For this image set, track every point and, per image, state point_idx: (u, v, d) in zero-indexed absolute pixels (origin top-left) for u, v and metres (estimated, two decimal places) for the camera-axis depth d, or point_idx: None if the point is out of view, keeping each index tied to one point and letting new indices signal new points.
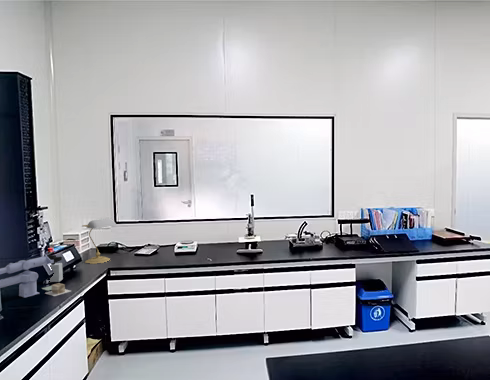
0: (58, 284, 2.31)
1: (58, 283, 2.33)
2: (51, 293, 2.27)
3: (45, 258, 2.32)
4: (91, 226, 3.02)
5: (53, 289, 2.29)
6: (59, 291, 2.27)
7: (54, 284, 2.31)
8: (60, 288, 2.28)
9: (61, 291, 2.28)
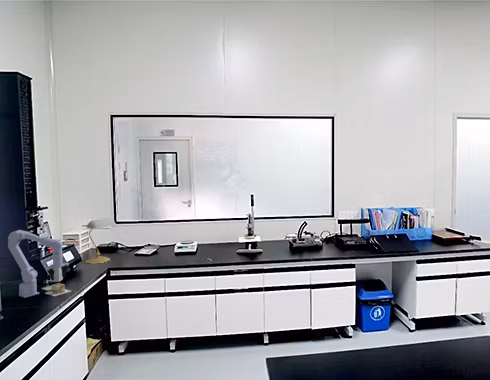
0: (58, 284, 2.31)
1: (58, 283, 2.33)
2: (51, 293, 2.27)
3: (56, 265, 2.27)
4: (91, 226, 3.02)
5: (53, 289, 2.29)
6: (59, 291, 2.27)
7: (54, 284, 2.31)
8: (60, 288, 2.28)
9: (61, 291, 2.28)
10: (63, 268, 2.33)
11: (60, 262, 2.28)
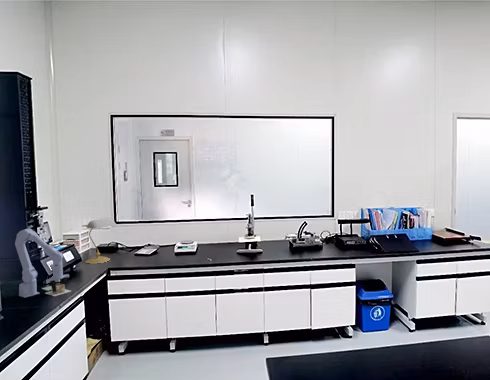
0: (58, 284, 2.31)
1: (58, 283, 2.33)
2: (51, 293, 2.27)
3: (56, 276, 2.27)
4: (91, 226, 3.02)
5: None
6: (59, 291, 2.27)
7: None
8: (60, 288, 2.28)
9: (61, 291, 2.28)
10: (62, 280, 2.32)
11: (60, 274, 2.29)
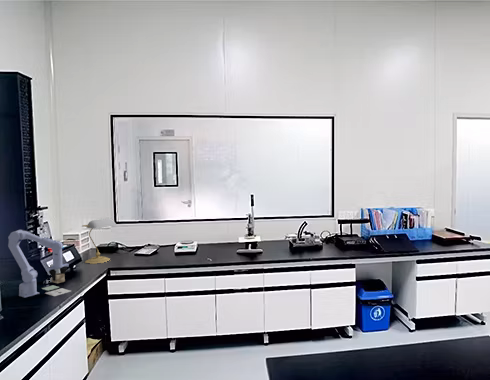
0: (58, 274, 2.30)
1: (58, 273, 2.33)
2: (51, 293, 2.27)
3: (56, 265, 2.27)
4: (91, 226, 3.02)
5: None
6: (59, 280, 2.27)
7: None
8: (60, 278, 2.28)
9: (61, 281, 2.28)
10: (62, 269, 2.32)
11: (60, 263, 2.28)
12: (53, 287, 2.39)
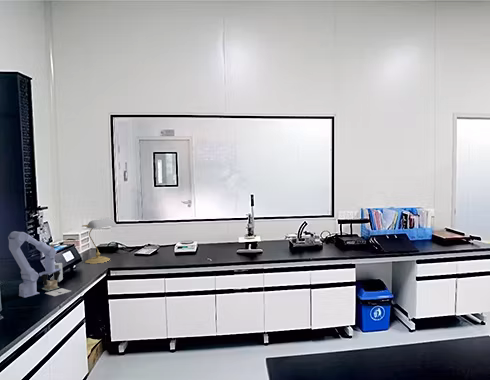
0: (51, 280, 2.39)
1: (51, 279, 2.41)
2: (51, 293, 2.27)
3: (48, 270, 2.35)
4: (91, 226, 3.02)
5: None
6: (52, 287, 2.35)
7: (47, 280, 2.39)
8: (53, 284, 2.36)
9: (54, 287, 2.37)
10: (55, 274, 2.41)
11: (52, 268, 2.37)
12: None
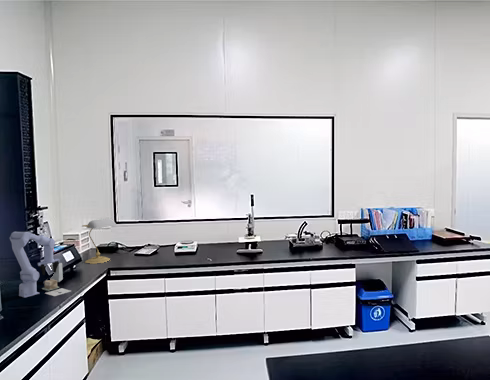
0: (51, 280, 2.39)
1: (51, 279, 2.41)
2: (51, 293, 2.27)
3: (47, 260, 2.39)
4: (91, 226, 3.02)
5: (45, 284, 2.37)
6: (52, 287, 2.35)
7: (47, 280, 2.39)
8: (53, 284, 2.36)
9: (54, 287, 2.37)
10: (54, 264, 2.45)
11: (51, 258, 2.41)
12: None
